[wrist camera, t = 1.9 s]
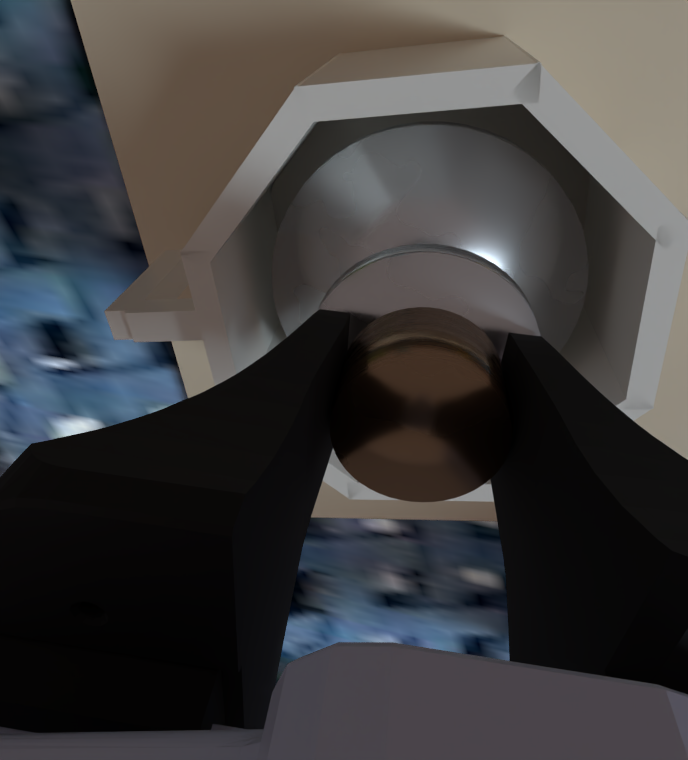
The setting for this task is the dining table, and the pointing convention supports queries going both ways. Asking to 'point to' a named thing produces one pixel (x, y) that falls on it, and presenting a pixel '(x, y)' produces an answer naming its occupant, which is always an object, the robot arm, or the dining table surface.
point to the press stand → (379, 111)
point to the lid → (429, 295)
